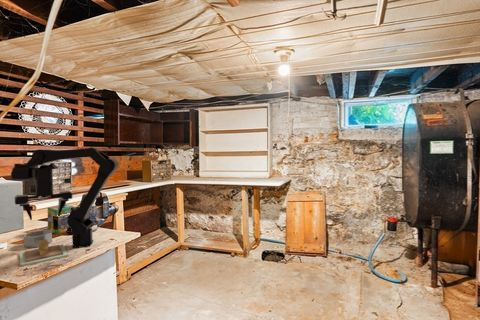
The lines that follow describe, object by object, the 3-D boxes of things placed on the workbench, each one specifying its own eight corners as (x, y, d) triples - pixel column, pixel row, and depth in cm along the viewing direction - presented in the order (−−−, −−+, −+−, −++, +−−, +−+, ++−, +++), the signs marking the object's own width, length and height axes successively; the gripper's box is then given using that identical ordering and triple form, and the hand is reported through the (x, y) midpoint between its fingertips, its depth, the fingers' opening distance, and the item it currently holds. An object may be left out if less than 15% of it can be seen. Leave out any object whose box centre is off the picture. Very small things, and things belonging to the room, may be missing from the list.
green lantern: (47, 231, 132) (46, 201, 132) (67, 226, 140) (66, 198, 139) (55, 234, 127) (55, 203, 126) (76, 229, 135) (75, 200, 134)
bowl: (50, 238, 121) (50, 228, 121) (52, 244, 114) (52, 233, 114) (24, 243, 115) (23, 233, 115) (24, 249, 108) (24, 238, 108)
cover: (58, 246, 111) (58, 235, 110) (63, 254, 102) (62, 242, 102) (24, 252, 104) (24, 241, 103) (26, 262, 95) (25, 249, 95)
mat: (62, 245, 113) (62, 244, 113) (68, 256, 102) (68, 254, 102) (19, 254, 104) (19, 252, 104) (20, 266, 93) (20, 264, 93)
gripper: (67, 176, 122) (67, 211, 123) (13, 180, 110) (14, 218, 111) (72, 179, 114) (73, 215, 115) (14, 182, 102) (16, 223, 102)
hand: (45, 218), depth 111 cm, fingers open, 9 cm apart
